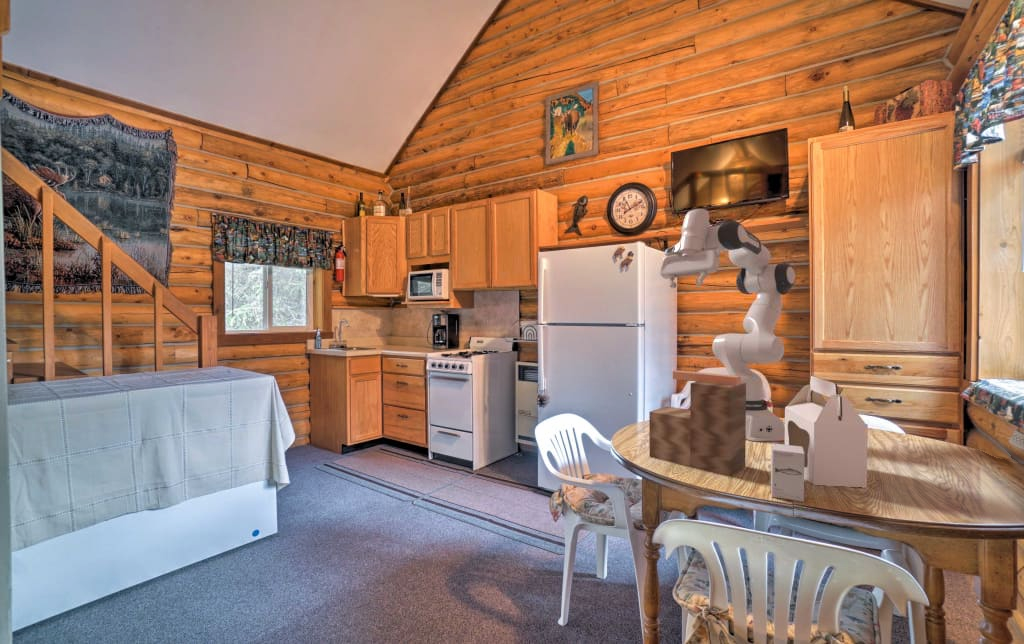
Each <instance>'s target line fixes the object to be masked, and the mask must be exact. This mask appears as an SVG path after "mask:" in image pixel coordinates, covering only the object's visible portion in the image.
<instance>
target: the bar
mask: <svg viewBox="0 0 1024 644" xmlns="http://www.w3.org/2000/svg"><path fill="white" fill-rule="evenodd" d="M672 379H673V380H679V381H688V382H705V383H714V384H723V385H732V386H738V385H741V376H733V375H729V374H721V373H708V372H700V371H688V370H678V369H677V370H673V371H672Z"/></svg>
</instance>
